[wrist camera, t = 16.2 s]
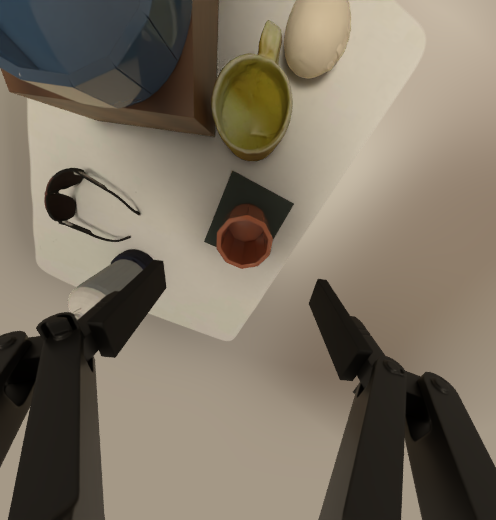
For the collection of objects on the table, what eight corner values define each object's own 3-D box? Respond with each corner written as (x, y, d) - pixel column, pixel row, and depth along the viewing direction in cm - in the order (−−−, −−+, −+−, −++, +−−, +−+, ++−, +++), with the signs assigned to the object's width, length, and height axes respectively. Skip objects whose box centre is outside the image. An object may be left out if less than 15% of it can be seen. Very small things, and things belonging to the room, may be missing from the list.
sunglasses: (75, 159, 29) (49, 160, 25) (148, 201, 34) (136, 208, 29) (64, 212, 33) (39, 220, 29) (130, 243, 38) (117, 254, 33)
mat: (232, 170, 30) (232, 170, 29) (293, 203, 32) (293, 204, 31) (204, 240, 35) (204, 241, 35) (257, 264, 38) (257, 265, 37)
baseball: (320, 97, 25) (341, 74, 19) (272, 74, 24) (279, 43, 18) (347, 30, 22) (382, -21, 16) (294, 2, 21) (311, -64, 15)
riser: (220, -59, 19) (187, -295, 10) (214, 136, 28) (194, 118, 18) (52, -89, 19) (-165, -370, 9) (97, 120, 27) (9, 91, 17)
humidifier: (116, 274, 40) (-60, 407, 17) (121, 243, 36) (-92, 359, 14) (153, 287, 41) (33, 425, 19) (160, 258, 37) (24, 386, 15)
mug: (268, 185, 29) (261, 159, 19) (217, 154, 30) (185, 115, 20) (313, 108, 26) (331, 33, 16) (255, 78, 27) (239, -11, 17)
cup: (270, 205, 32) (276, 218, 23) (263, 246, 35) (266, 271, 26) (227, 199, 31) (217, 211, 22) (225, 241, 35) (215, 265, 26)
